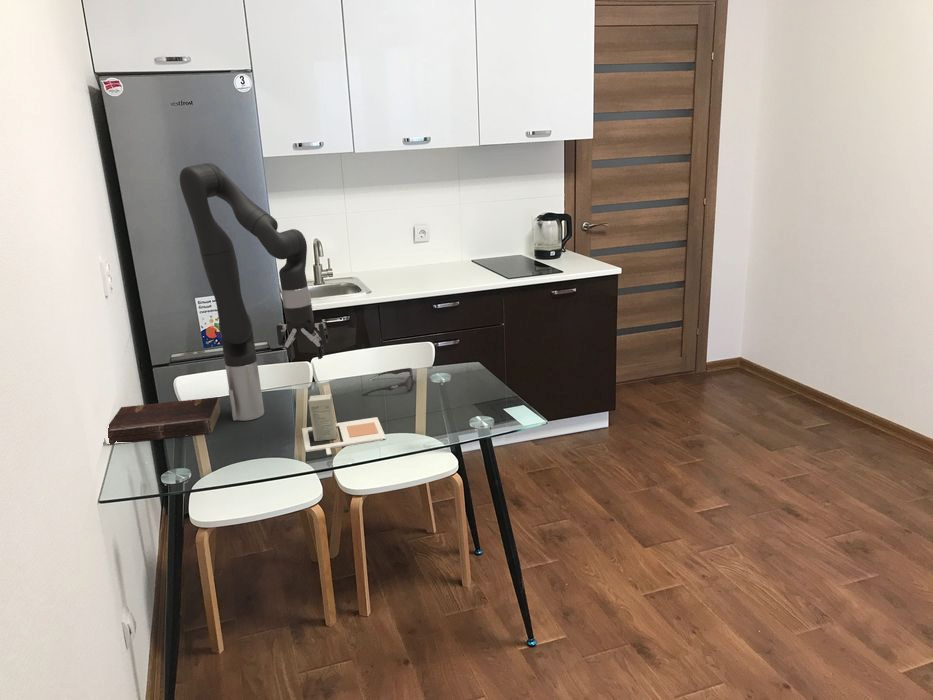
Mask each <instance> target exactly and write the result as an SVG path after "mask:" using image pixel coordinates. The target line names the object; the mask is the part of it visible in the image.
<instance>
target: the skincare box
mask: <svg viewBox="0 0 933 700" xmlns="http://www.w3.org/2000/svg"><path fill="white" fill-rule="evenodd" d="M307 402H308V403H307V404H308V409H309V415H310V422H311V427H312V429H313V431H312V434H313V441H314V442H318V441H319V442H320V441H329V440H336V439H337V437H338V436H337V435H338V429H337V428H338V427H336V423H337V422H336V416H335V415H336V414H335V407H334V400H333V394H332V393H325V394H316V395H310V396H309V398H308V400H307Z"/></svg>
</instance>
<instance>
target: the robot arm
mask: <svg viewBox="0 0 933 700" xmlns="http://www.w3.org/2000/svg"><path fill="white" fill-rule="evenodd" d="M179 186H180V190H181V192H182V193H181V194H182V196H183V199H184V201H185V205H186V206H187V209H188V213H189V215H190V219H191V222H192V225H193V229H194V231H195V236H196V240H197V242H198V246H199V252H200V255H201V257H200V258H201V260H202V264H203V268H204V272H205V274H206V278H207V281H208V283H209V287H210V289H211V292H212V294H213V297H214V301H215V304H216V310H217V316H218V327H219V329H218V330H219V333H220V338H221V339H220V340H221V345H222V353H223V360H224V366H225V372H226V377H227V385H228V397H229V403H230V409H231V414H232V415H231V416H232V420H233V421H243V422H245V421H252V420H256V419H259V418H261V417H263V416H264V415H265V406H264V402H263V401H264V399H263V393H262V388H261V386H262V385H261V382H260V381H261V380H260V379H261V378H260V373H259V367H258V359H257V351H256V346H255V345H256V344H255V340H254V332H253V331H254V330H253V323H252V319H251V317H250V315H249V314H248V312H247V309H246V307H245V303H244V300H243V295H242V290H241V279H240V272H239V265H238V259H237V255H236V252H235V246H234V243H233V241H232V240H231V238H230V237H229V235H228V234H227V232H226V231H225V230H224V229H223V228H222V227H221V225H219V223H218V222H217V221H216V219H215V218H214V216H213V214H212V211H211V207H210V205H209V201H208V198H213V197H217V198H219V199H221V200H223V201H224V202H226V203H227V204H228V205H229V206H230V207H231V209H232V212H233V215H234V217H235V219H236V220H237V222H238V224H240V225H241V227H243V228H244V229H245V230H246V231H247V232H248V233H250V234H252V236H254V237H256V238H257V239H258V241H259V243H261V245H262V246H263V248H264V249H265V250H266V251H267V253H268V254H269V255H271V256H272V258H275V259H277V260H285V264H284V265H283V267H281V268H280V269H279V271H278V276H279V281H280V286H281V297H282V303H283V304H282V305H283V311H284V315H285V317H284V318H285V321H286V324H285V323H284V322H280V323H278V324H277V325H276V328H275V329H276V335H277V344H278V345H279V346H283V347H285V349H286V356H287V358H288V359H289V360H290V361H291V360H294V359H295V358H296V356H295V355H296V354H295V349H294V345H293V342H294V341H295V339H296V340H300V339H303V340H310V341H311V342H313V344H315V346H316V355H317V359H318V360H322V358H323V357H324V356H325V348H324V345H326V344H327V343H329V341H330V338H329V333H328V328H327V324H326V322H325V321H321V322H317V323H316V322H315V319H314V311H313V305H312V297H311V294H310V290H309V286H308V281H307V274H306V266H307V256H308V254H307V253H308V247H307V241H306V240H307V239H306V238H305V235H304V234H303V233H302V232H301V231H300V230H298V229H294V228H293V229H288V230H285V231H281V232H279V231H278V227H279V226H278V225H279V224H278V222H277V220H276V219H275V218H274V217H273V215H270V214H269V213H268V212H267V211H265V210H264V209H263V208H261V207H260V206H259V205H257V204H256V203H255V202H254V201H252V200H251V199H250V198H249V197H248V196H247V195H246V194H245V193H244V191H242V190H241V188H239V186H237V184H236V183H235V182H234V181H233V180H232V179H231V178H230V177H229V176H228V175H227V174H226V172H224V171H223V170H222V169H221V168H220V167H219V166H217V165H216V164H214V163H209V162H208V163H207V162H206V163H199V164H194V165H189V166H186V167H183V168H182V169H181V171H180V174H179ZM315 329H317V331H319V333H318V332H317V331H316V330H315ZM286 330H287V331H288V332H289V333H290V334H289V336H288V337H286ZM319 335H320V336H319ZM286 338H287V339H286Z"/></svg>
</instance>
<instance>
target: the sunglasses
mask: <svg viewBox="0 0 933 700" xmlns="http://www.w3.org/2000/svg"><path fill="white" fill-rule="evenodd" d="M402 373H409V376H407V378H406V379H405V380H404V381H403V382H400V383H395V384H391V385H388V386H382V387H379V388H375V389H372V390H370V391H367V392H364V393H362V394H360V396H361V397H363V396H364V397H366V396H367V395H370V394H371V393H374V392H377V391H393V390H396V389H399V388H401V387H405V388H406V391H407V392H408V391H409V390H411V389H412V384H413V382H414V381H413V380H414V375H413V374H414V373H413V369H412V367H406V368H400V369H393V370H388V371H384V372H380V373H378V374H376V375H374V376H372V377H371V378H369V379H368V380H372V381H373V380H375V379H376V378H377V377H380V376H383V375H388V374H391V375H398V374H402ZM409 392H410V391H409Z"/></svg>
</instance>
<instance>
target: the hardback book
mask: <svg viewBox="0 0 933 700" xmlns="http://www.w3.org/2000/svg"><path fill="white" fill-rule="evenodd" d="M220 409H221V403H220V398H219V396H217V397H215V396H214V397H207V398H206V397H205V398H197V399H186V400H177V401H168V402H158V403H157V402H156V403H150V404H149V403H147V404H138V405H129V406H121V407H119V409H118V411H117V412H116V414H115V415H114V417H113V418H112V420H111V421H110V422H109V424H108V425H109V428H108V438H109V443H110V445H109V446H113V444H114V443H115V442H116V441H117V442H132V443H141V442H148V441H157V440H158V441H159V440H166V439H167V438H168V439H173V438H172V437H178V436H185V435H189V436H188V437H195V436H202V435H212V433H213V431H214V430H215V429H214V428H215V426H216V424H217V422H218V419H219V417H220V414H221V411H220ZM219 413H220V414H219ZM190 435H192V436H190ZM178 438H179V437H178ZM168 439H167V440H168ZM114 445H115V444H114Z"/></svg>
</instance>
